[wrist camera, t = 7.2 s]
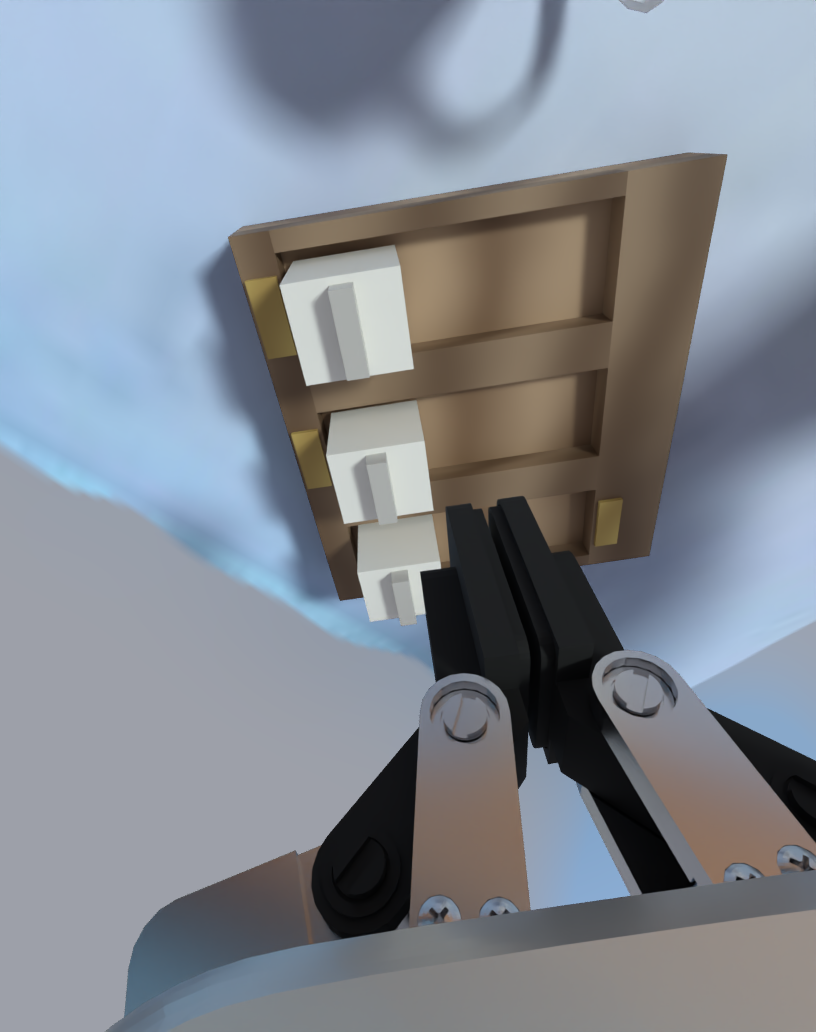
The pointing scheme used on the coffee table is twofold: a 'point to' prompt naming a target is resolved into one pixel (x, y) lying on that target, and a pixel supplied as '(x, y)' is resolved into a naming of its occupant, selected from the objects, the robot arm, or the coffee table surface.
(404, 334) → the tab
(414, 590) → the tab
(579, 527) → the switch board
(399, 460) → the tab middle
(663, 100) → the coffee table surface
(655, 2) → the cup
